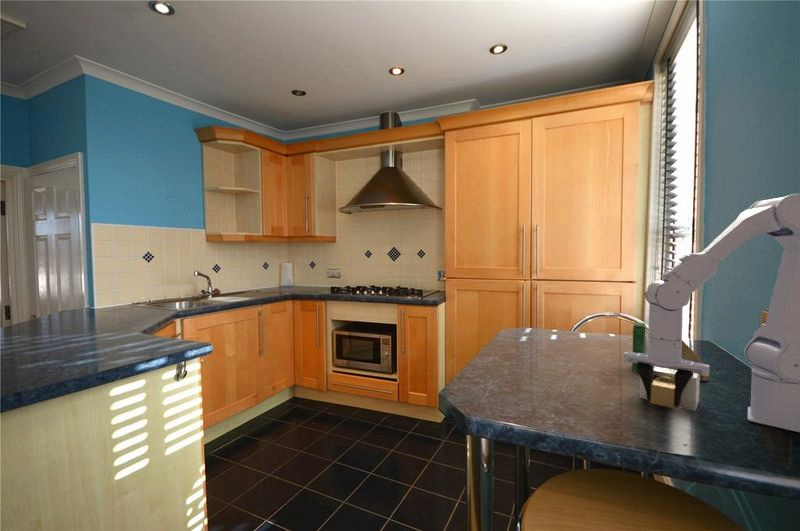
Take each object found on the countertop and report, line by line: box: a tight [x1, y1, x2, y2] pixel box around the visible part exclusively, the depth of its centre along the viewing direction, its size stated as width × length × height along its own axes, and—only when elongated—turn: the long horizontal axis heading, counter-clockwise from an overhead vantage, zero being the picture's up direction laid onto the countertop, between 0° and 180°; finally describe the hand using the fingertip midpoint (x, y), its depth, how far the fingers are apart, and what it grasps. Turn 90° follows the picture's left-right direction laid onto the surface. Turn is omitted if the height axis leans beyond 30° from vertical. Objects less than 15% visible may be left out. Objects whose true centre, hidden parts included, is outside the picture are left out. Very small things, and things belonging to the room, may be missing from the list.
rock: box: [681, 339, 710, 382], centre depth 100 cm, size 11×9×10 cm
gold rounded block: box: [650, 376, 683, 409], centre depth 82 cm, size 12×6×6 cm, turn 137°
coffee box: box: [631, 321, 647, 374], centre depth 107 cm, size 8×3×13 cm, turn 144°
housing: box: [639, 366, 701, 412], centre depth 84 cm, size 10×7×7 cm
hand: (663, 402), depth 79 cm, fingers closed on gold rounded block, 4 cm apart
